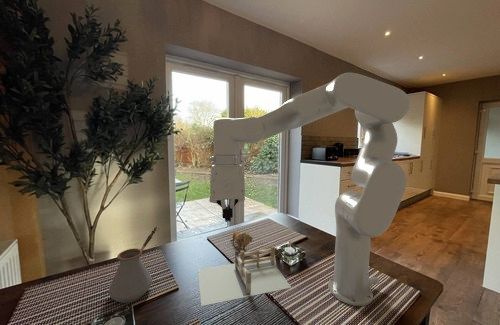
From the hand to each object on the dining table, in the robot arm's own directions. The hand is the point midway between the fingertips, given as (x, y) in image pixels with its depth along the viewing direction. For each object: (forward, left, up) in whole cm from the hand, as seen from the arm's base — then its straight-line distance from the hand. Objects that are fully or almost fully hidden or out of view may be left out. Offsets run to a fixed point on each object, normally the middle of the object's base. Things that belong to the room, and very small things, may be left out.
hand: (227, 220), depth 66 cm
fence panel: (-5, -2, -21) cm, 22 cm away
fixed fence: (-12, -8, -22) cm, 27 cm away
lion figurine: (-10, -23, -23) cm, 34 cm away
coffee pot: (+27, -10, -23) cm, 36 cm away
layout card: (-5, -3, -22) cm, 23 cm away
